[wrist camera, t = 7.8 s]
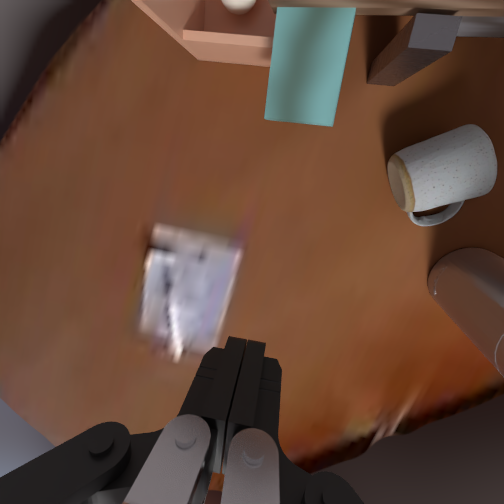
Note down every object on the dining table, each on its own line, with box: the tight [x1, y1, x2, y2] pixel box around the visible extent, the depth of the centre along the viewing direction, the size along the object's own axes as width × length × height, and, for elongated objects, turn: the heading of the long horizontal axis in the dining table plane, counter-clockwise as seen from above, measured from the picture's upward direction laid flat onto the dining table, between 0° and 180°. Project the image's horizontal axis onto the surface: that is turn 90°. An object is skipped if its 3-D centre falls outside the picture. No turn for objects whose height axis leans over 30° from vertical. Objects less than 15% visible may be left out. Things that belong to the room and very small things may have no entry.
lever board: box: [264, 0, 504, 127], centre depth 23 cm, size 20×16×10 cm
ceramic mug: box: [387, 124, 497, 226], centre depth 31 cm, size 11×8×8 cm
